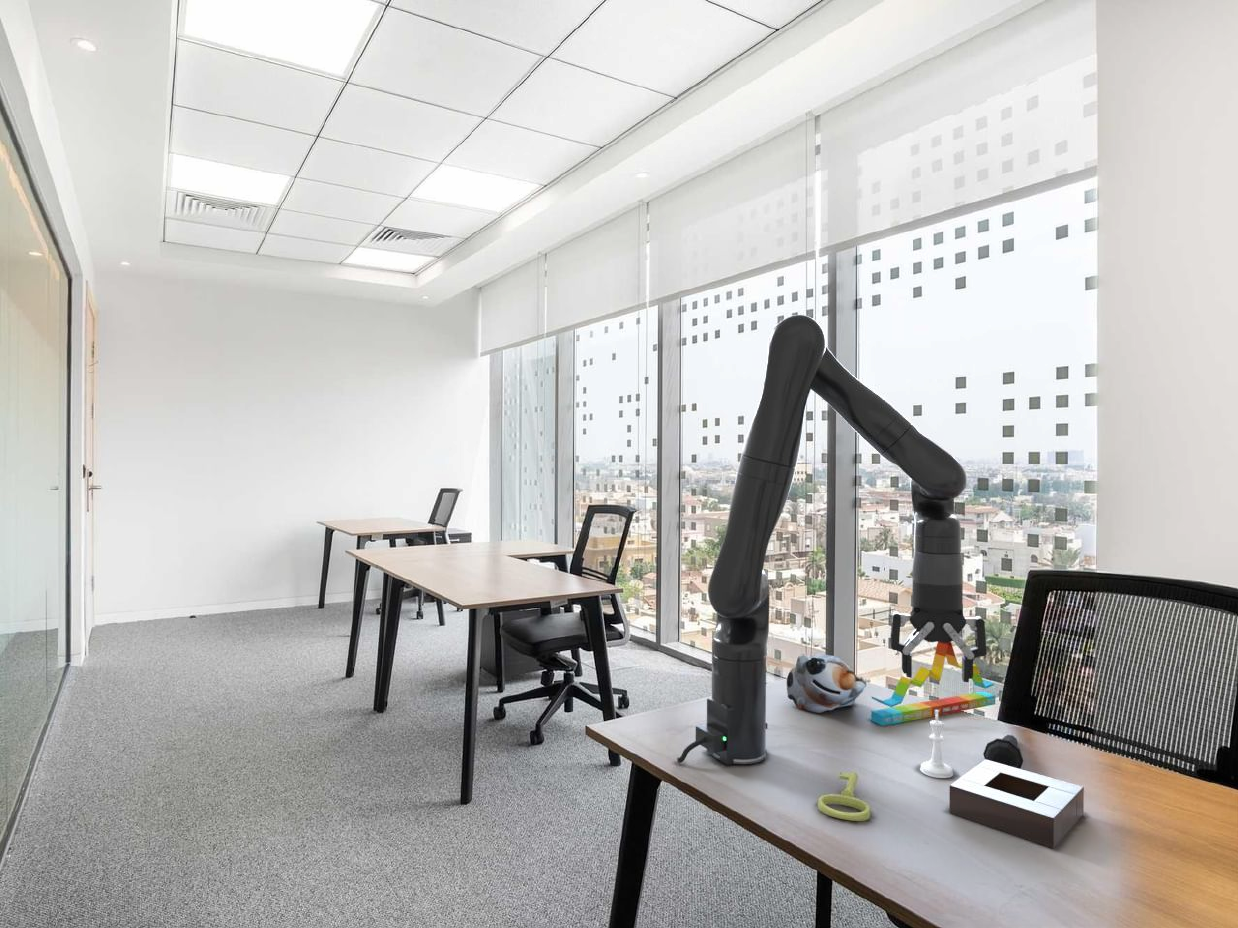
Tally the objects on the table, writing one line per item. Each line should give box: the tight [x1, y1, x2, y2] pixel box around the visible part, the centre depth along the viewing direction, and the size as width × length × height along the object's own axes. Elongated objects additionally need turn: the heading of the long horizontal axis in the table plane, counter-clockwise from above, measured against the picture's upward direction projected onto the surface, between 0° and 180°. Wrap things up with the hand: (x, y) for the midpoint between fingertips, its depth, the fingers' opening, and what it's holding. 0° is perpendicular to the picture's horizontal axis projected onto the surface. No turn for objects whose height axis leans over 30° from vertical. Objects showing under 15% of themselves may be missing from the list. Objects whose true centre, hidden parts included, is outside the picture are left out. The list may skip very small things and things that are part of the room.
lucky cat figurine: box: [786, 653, 867, 714], centre depth 151 cm, size 15×12×14 cm
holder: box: [948, 758, 1085, 849], centre depth 107 cm, size 14×14×4 cm
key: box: [817, 771, 872, 822], centre depth 110 cm, size 7×12×2 cm, turn 172°
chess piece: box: [919, 710, 954, 779], centre depth 121 cm, size 5×5×10 cm
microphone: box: [982, 734, 1024, 769], centre depth 126 cm, size 6×6×20 cm
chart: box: [870, 641, 996, 727], centre depth 149 cm, size 30×3×15 cm, turn 114°
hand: (936, 678), depth 121 cm, fingers open, 8 cm apart
